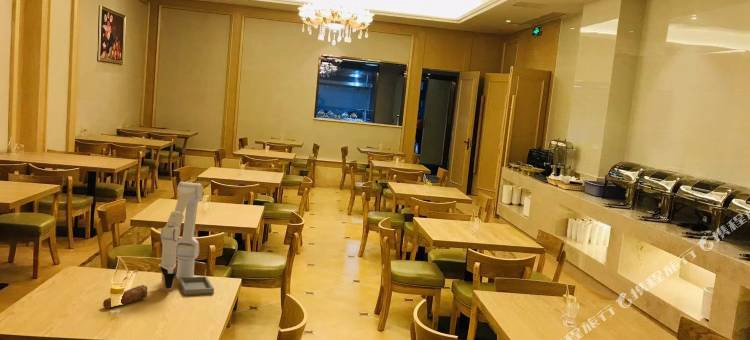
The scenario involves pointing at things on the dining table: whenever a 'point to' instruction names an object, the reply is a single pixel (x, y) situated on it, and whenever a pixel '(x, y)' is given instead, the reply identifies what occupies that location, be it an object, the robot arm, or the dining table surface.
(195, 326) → the dining table surface
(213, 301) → the dining table surface
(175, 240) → the robot arm
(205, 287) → the serving tray
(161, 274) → the cup
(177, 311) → the dining table surface
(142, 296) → the bread
